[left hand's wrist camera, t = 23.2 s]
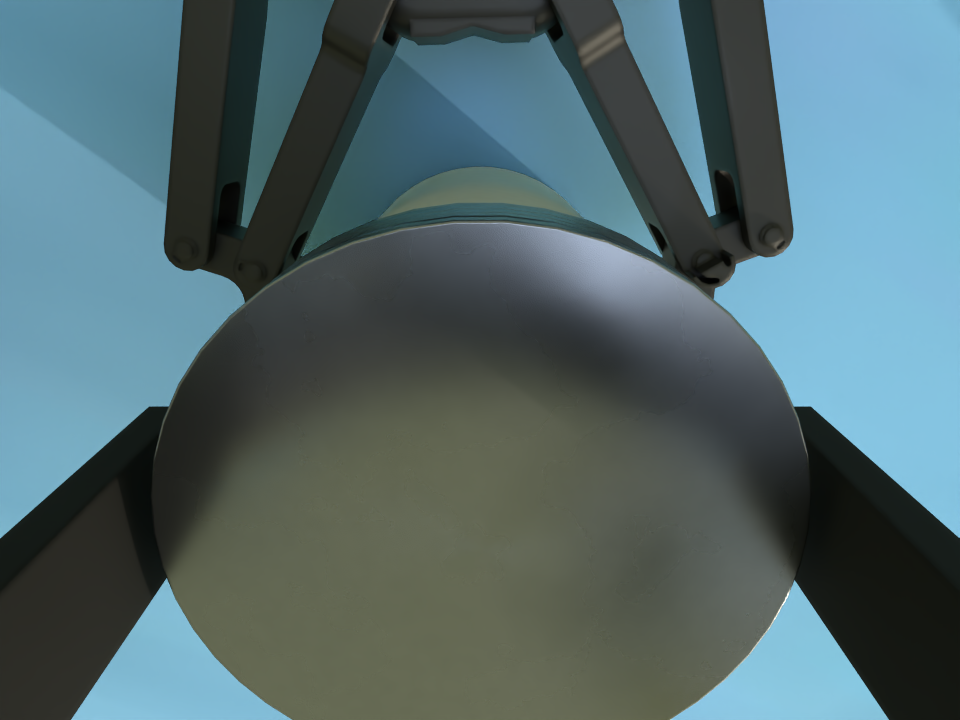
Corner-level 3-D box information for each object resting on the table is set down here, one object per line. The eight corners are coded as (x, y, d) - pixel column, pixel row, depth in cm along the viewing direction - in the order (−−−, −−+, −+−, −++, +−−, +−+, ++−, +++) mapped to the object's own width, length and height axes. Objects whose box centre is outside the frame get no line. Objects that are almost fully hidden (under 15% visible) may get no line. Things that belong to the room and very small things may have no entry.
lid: (128, 226, 10) (56, 248, 9) (795, 178, 10) (862, 192, 8) (261, 701, 14) (231, 782, 13) (738, 676, 14) (774, 756, 12)
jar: (380, 139, 23) (224, 179, 9) (633, 198, 24) (851, 319, 10) (343, 376, 27) (193, 669, 13) (565, 421, 28) (653, 742, 14)
